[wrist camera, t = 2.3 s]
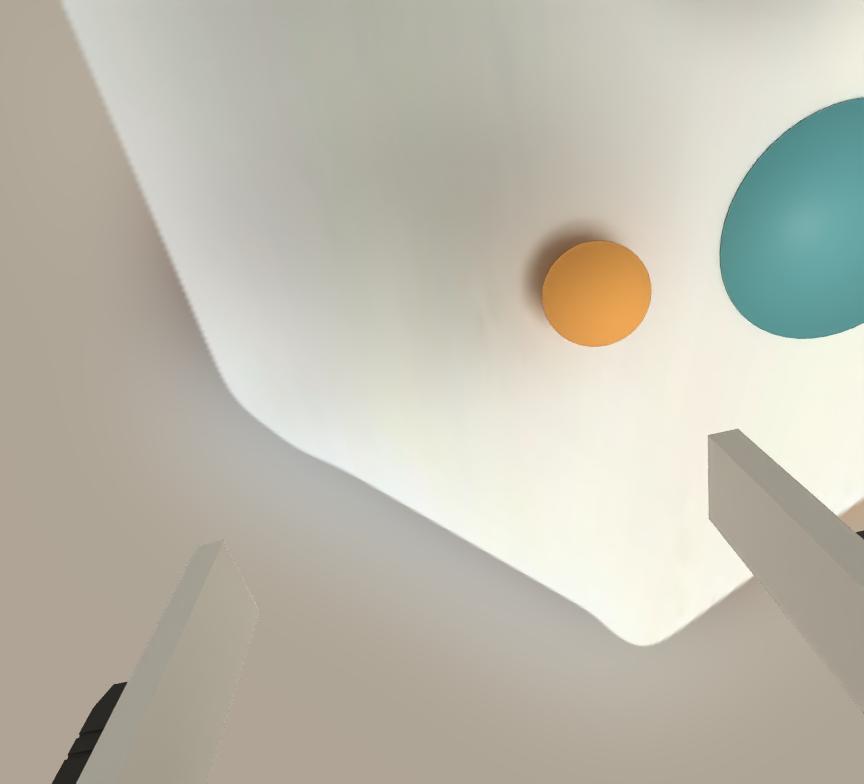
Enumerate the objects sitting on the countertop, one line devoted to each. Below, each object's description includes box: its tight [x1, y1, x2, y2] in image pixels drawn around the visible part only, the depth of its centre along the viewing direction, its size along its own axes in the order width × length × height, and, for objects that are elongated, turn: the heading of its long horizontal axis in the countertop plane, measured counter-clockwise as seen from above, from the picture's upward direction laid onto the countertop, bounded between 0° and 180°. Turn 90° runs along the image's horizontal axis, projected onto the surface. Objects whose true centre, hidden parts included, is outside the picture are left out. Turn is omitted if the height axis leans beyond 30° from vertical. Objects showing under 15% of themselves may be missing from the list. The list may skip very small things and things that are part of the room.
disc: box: [720, 98, 864, 339], centre depth 30 cm, size 13×13×1 cm
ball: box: [542, 241, 651, 347], centre depth 29 cm, size 6×6×6 cm
